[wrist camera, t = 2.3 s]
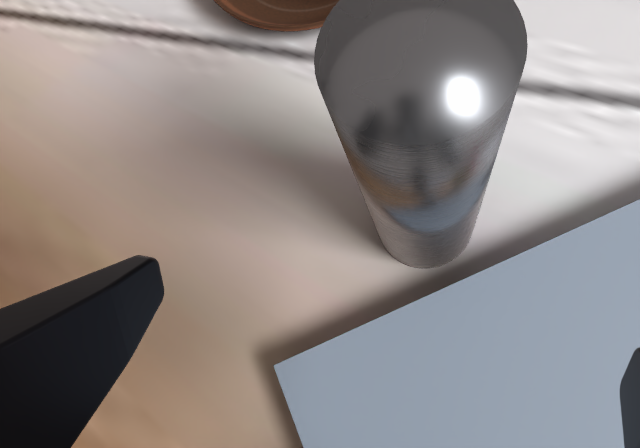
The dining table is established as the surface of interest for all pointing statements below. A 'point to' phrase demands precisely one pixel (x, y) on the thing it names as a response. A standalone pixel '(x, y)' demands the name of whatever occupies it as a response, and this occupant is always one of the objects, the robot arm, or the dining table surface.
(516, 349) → the flange plate
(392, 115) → the grey metallic rounded cylinder
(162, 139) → the dining table surface
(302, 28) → the cup and saucer
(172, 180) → the dining table surface
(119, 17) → the dining table surface
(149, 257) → the robot arm
